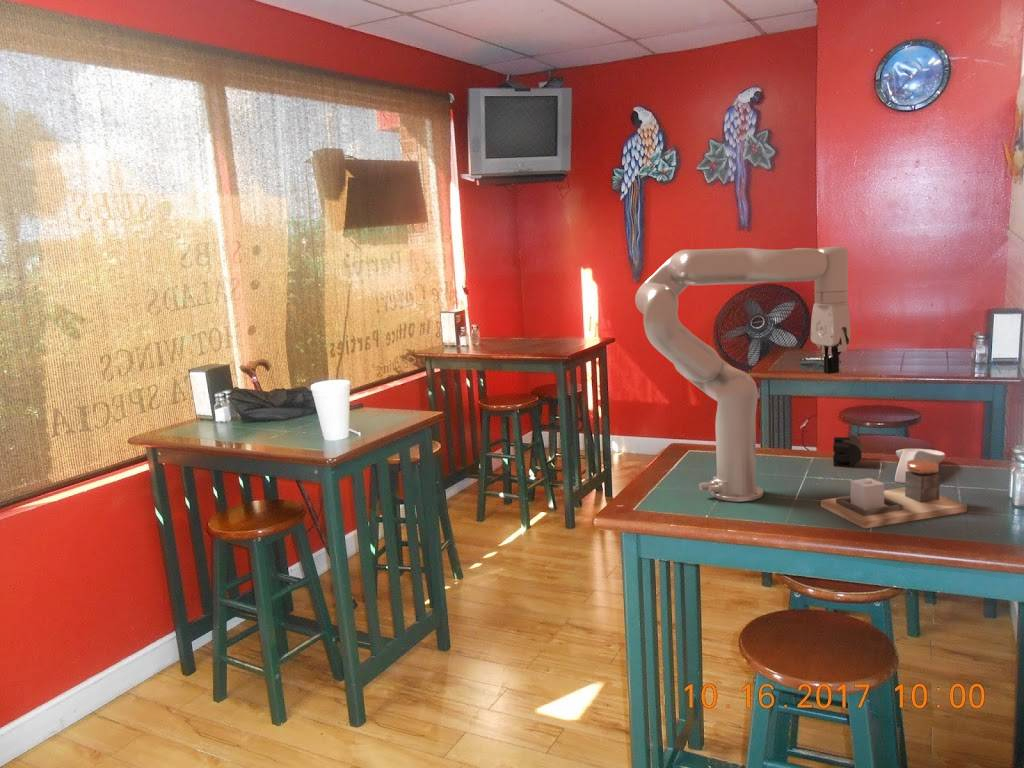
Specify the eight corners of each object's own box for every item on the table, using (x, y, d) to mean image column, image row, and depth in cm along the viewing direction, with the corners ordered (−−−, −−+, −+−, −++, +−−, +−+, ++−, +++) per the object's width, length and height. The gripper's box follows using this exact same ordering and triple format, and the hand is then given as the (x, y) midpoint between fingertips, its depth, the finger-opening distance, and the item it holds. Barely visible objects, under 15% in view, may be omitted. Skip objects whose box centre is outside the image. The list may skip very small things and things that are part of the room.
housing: (850, 503, 187) (850, 479, 186) (869, 500, 188) (869, 476, 187) (864, 510, 183) (864, 485, 182) (884, 507, 184) (884, 482, 183)
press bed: (864, 528, 176) (864, 495, 175) (820, 506, 191) (820, 475, 190) (966, 511, 182) (967, 479, 180) (916, 491, 197) (916, 461, 196)
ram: (920, 498, 184) (920, 468, 183) (900, 490, 190) (901, 461, 189) (944, 494, 185) (945, 464, 184) (924, 486, 191) (924, 458, 190)
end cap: (861, 468, 218) (861, 444, 217) (833, 467, 221) (833, 443, 220) (861, 458, 227) (861, 434, 226) (834, 457, 230) (834, 434, 229)
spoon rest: (900, 458, 225) (901, 433, 224) (948, 463, 218) (949, 437, 217) (880, 482, 207) (881, 454, 205) (931, 487, 200) (932, 459, 198)
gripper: (799, 297, 203) (800, 370, 207) (836, 301, 189) (836, 378, 192) (826, 295, 205) (826, 367, 208) (864, 298, 191) (864, 375, 194)
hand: (831, 372), depth 200 cm, fingers closed
